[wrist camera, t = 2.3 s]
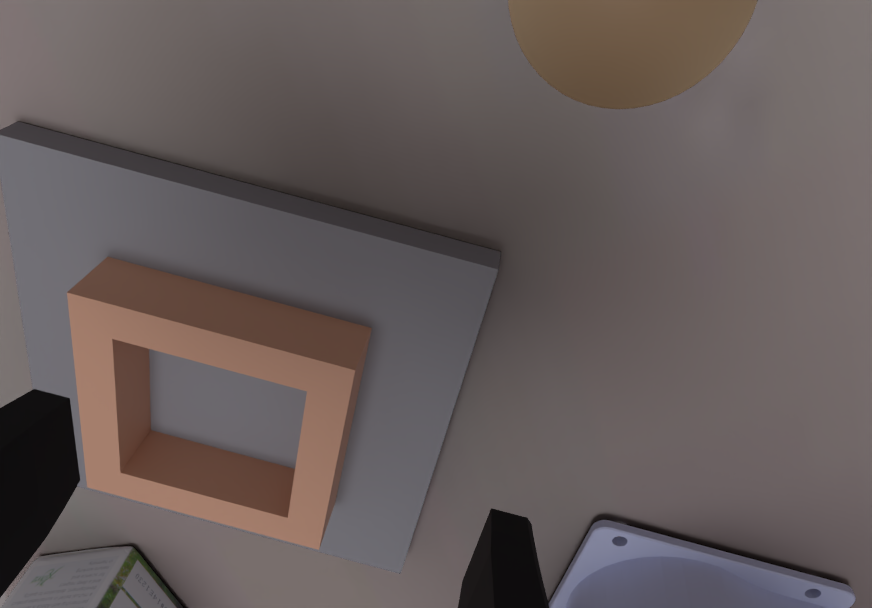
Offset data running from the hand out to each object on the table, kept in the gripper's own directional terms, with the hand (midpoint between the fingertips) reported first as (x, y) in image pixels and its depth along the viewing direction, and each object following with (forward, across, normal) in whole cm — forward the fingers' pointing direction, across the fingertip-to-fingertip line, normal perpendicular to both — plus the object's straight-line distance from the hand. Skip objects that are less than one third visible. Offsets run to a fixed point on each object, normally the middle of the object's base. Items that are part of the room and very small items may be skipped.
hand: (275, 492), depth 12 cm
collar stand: (+9, +4, +6) cm, 12 cm away
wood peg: (+10, -3, -8) cm, 13 cm away
